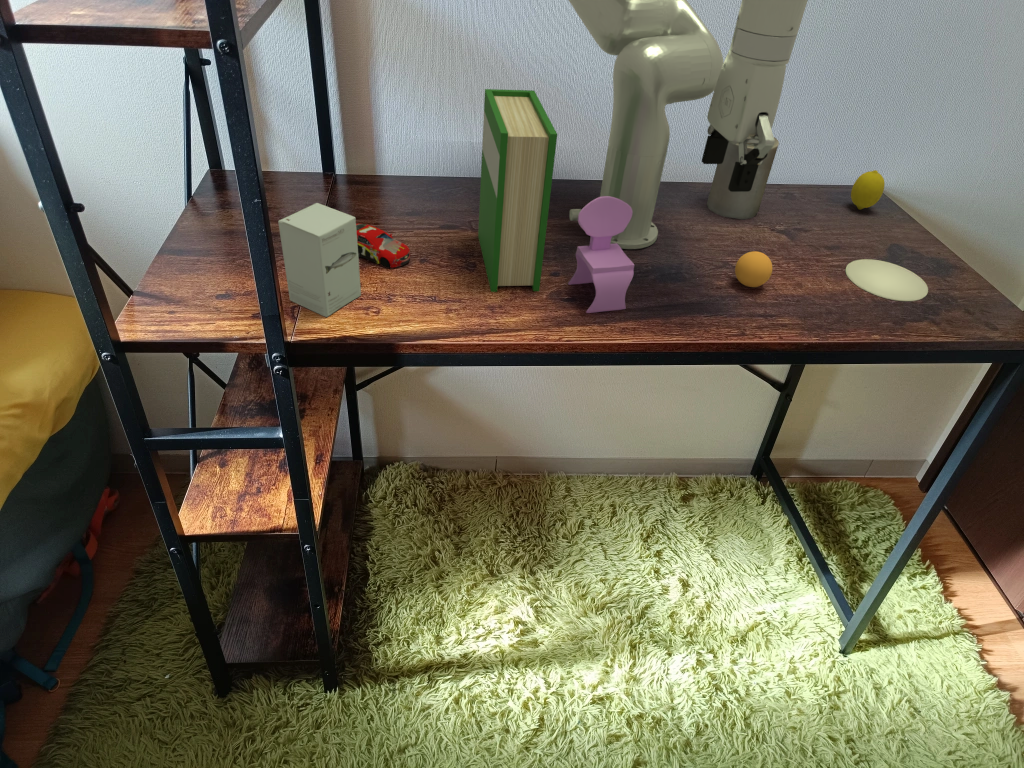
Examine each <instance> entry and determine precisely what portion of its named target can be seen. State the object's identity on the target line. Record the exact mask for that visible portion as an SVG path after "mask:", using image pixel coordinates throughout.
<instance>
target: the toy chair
mask: <svg viewBox="0 0 1024 768" xmlns="http://www.w3.org/2000/svg"><path fill="white" fill-rule="evenodd" d="M631 217H632V209H631V207H630V206H629V205H628V204H627V203H625V202H624V201H622V200H620V199H617V198H614V197H610V196H602V197H600V196H598V197H596V198H594V199H593V200H591V201H590V202H588V203H587V204H585V206H584V207H583V208H582V209H581V211H580V213H579V215H578V221H577V223H578V225H579V226H580V228H581V229H582V230H583V231H584V232H585V235H587V236H590V238H589V245H579V246H577V248H576V251H575V258H576V269H575V272H574V273H573V275H572V277H571V278H570V279H569V280H568V283H567V285H581V284H589V283H590V284H591V283H593V285H594V289H595V297H594V299H593V301H592V303H591V305H590V306H589V307H588V308H587V310H586V311H585V313H586V314H590V313H591V314H592V313H599V312H600V313H601V312H609V311H610V312H611V311H620V310H626V309H627V308H626V307H627V306H626V293H627V290H628V289H629V287H630V284H631V283H632V282H631V281H632V280H633V277H634V269H635V264H634V262H633V260H631V258H629V257H628V256H627V254H626V253H625V252H624V251H623V250H624V249H621V247H620V246H619V245H618V244H617V243H614V244H610V242H611V238H612V236H614V235H617V234H619V233H621V232H623V231H624V229H625V228H626V226H627V225H628V223H629V222H630V220H631Z"/></svg>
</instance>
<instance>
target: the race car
mask: <svg viewBox="0 0 1024 768" xmlns="http://www.w3.org/2000/svg"><path fill="white" fill-rule="evenodd" d="M356 230H357V244H358V257H360V258H362V259H366V260H368V261H371V262H373V263H375V264H378V265H381V266H382V267H384V268H387V269H390V268H399V267H402V266H404V265H406V264H408V263H409V262H410V260H411V250H410V247H409V246H408V245H407V244H405V243H403V242H401V241H399V240H397V239H396V238H394V237H393V233H390V234H389V233H388V232H386V231H385V230H383V229H380V228H379V227H375V226H374V225H370V224H366V223H362V222H361V223H356Z"/></svg>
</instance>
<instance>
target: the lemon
mask: <svg viewBox="0 0 1024 768" xmlns="http://www.w3.org/2000/svg"><path fill="white" fill-rule="evenodd" d="M885 184H886V183H885V179H884V177H883V176H882V174H881V173H880V172H879V171H878V170H876V169H874V170H871V171H866V172H863V173H862V174H861V175H859V177H857V179H855V182H854V183H853V185H852V188H851V192H850V199H851V201H852V203H853V205H855V206H856V208H857V210H861V211H862V210H863V209H865V208H866V209H867V208H870V207H873V206H875V205H876V204H878V202H879V200H880V199H881V198H882V196H883V193H884V191H885Z"/></svg>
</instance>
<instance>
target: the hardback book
mask: <svg viewBox="0 0 1024 768" xmlns="http://www.w3.org/2000/svg"><path fill="white" fill-rule="evenodd" d="M483 99H484V101H483V103H484V104H483V125H482V147H481V167H480V168H481V170H480V187H479V188H480V190H479V211H478V230H477V231H478V232H477V237H478V241H479V245H480V246H479V247H480V249H481V254H482V258H483V262H484V268H485V272H486V276H487V280H488V286H489V289H490V293H497V292H498V287H506V286H507V287H513V286H516V287H519V286H531V289H532V291H533V292H540V290H541V289H540V287H541V280H542V272H543V262H544V253H545V246H546V244H545V243H546V237H547V236H546V235H547V229H548V219H549V209H550V203H551V192H552V186H553V185H552V183H553V176H554V175H553V174H554V167H555V158H556V150H557V149H556V148H557V139H558V132H557V131H556V129H555V127H554V126H553V123H552V122H551V120H550V118H549V115H548V114H547V112H546V110H545V107H544V106H543V104H542V102H541V100H540V99H539V97H538V95H537V93H536V91H535V90H531V89H530V90H529V89H528V90H527V89H526V90H525V89H498V88H497V89H496V88H495V89H493V88H492V89H491V88H489V89H488V88H484V98H483Z"/></svg>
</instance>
